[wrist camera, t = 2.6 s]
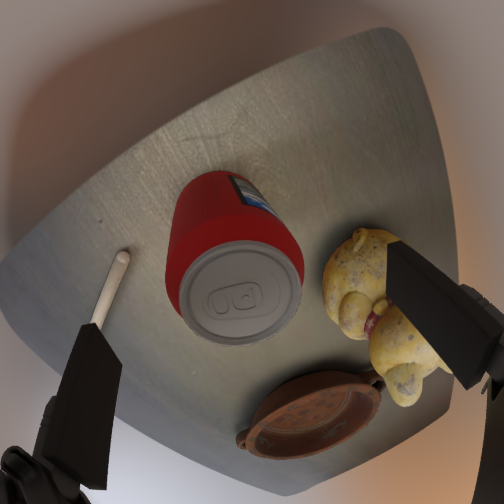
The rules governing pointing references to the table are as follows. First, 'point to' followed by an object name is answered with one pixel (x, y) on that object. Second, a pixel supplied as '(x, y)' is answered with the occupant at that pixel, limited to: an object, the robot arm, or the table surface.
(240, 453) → the table surface
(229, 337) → the beverage can
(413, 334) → the decorative figurine
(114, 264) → the wooden stick
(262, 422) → the dish
